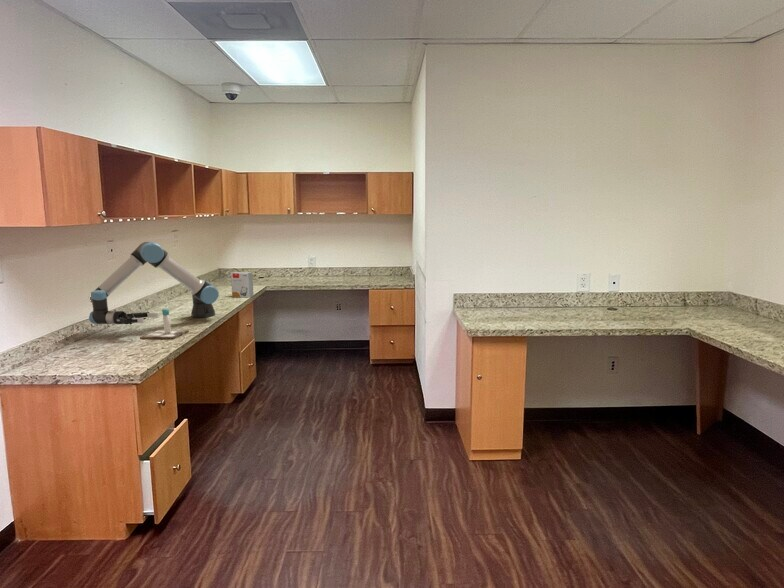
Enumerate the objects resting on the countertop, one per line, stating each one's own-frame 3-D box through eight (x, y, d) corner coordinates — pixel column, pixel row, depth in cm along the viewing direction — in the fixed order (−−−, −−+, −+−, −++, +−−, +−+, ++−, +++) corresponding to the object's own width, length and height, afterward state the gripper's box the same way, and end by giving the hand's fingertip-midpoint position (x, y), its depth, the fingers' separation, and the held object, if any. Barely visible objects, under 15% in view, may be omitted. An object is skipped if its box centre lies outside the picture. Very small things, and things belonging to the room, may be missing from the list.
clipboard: (157, 331, 296) (157, 328, 295) (188, 332, 293) (188, 328, 292) (140, 338, 280) (139, 335, 280) (173, 339, 277) (172, 335, 277)
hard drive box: (231, 297, 404) (229, 273, 401) (236, 295, 412) (234, 271, 408) (249, 297, 401) (247, 273, 397) (254, 296, 408) (252, 271, 405)
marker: (166, 332, 288) (164, 308, 285) (172, 332, 287) (169, 308, 285) (163, 334, 284) (160, 310, 282) (169, 334, 284) (166, 310, 281)
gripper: (131, 319, 302) (164, 319, 298) (102, 329, 277) (137, 329, 274) (130, 306, 300) (163, 307, 297) (100, 316, 276) (136, 316, 273)
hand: (150, 317), depth 286 cm, fingers open, 13 cm apart
